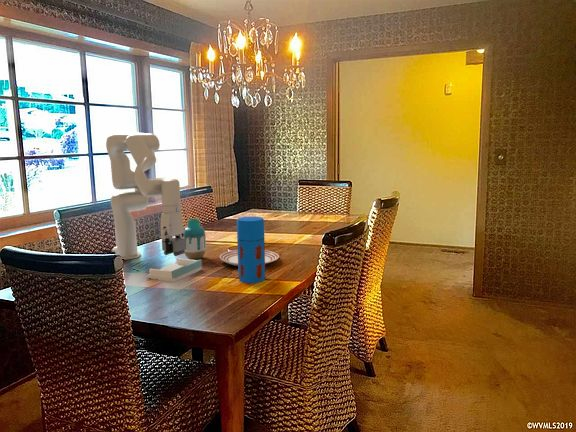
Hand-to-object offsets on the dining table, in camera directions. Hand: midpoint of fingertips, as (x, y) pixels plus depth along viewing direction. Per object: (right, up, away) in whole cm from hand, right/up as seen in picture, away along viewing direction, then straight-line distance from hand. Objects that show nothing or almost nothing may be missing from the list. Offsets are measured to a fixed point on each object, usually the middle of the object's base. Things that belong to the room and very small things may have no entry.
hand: (174, 250), depth 194 cm
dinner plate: (+30, -7, +20) cm, 37 cm away
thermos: (+33, -11, -7) cm, 36 cm away
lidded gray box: (0, -2, 0) cm, 1 cm away
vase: (+4, -6, +26) cm, 27 cm away
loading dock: (0, -10, +2) cm, 10 cm away
